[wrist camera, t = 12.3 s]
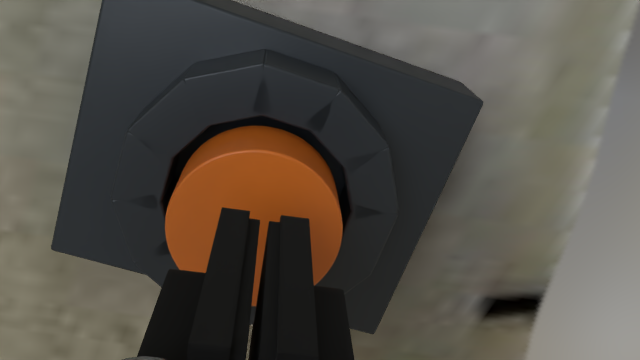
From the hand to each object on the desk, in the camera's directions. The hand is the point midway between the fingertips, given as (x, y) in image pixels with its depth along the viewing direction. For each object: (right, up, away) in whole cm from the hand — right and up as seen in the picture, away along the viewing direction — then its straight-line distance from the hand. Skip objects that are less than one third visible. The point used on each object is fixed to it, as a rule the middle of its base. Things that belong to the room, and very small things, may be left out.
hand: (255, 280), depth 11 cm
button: (0, +1, +3) cm, 4 cm away
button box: (-1, +3, +7) cm, 7 cm away
